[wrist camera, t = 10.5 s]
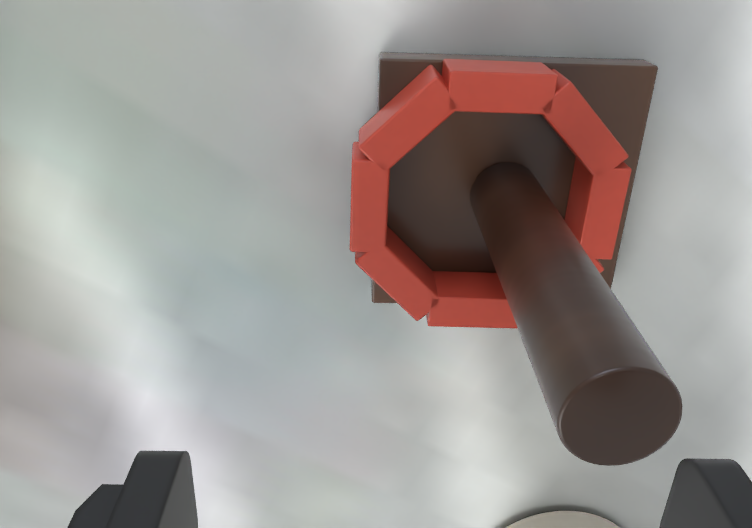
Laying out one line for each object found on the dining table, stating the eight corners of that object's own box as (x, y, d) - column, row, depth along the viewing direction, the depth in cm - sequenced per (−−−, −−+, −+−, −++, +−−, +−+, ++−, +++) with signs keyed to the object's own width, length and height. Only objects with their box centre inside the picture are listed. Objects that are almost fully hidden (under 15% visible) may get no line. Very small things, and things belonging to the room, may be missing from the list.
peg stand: (371, 287, 27) (378, 578, 15) (378, 51, 23) (396, 194, 11) (597, 292, 27) (780, 581, 15) (645, 59, 23) (945, 207, 11)
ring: (348, 296, 25) (347, 324, 24) (354, 54, 21) (354, 67, 20) (580, 302, 26) (596, 331, 24) (628, 65, 22) (652, 78, 20)
